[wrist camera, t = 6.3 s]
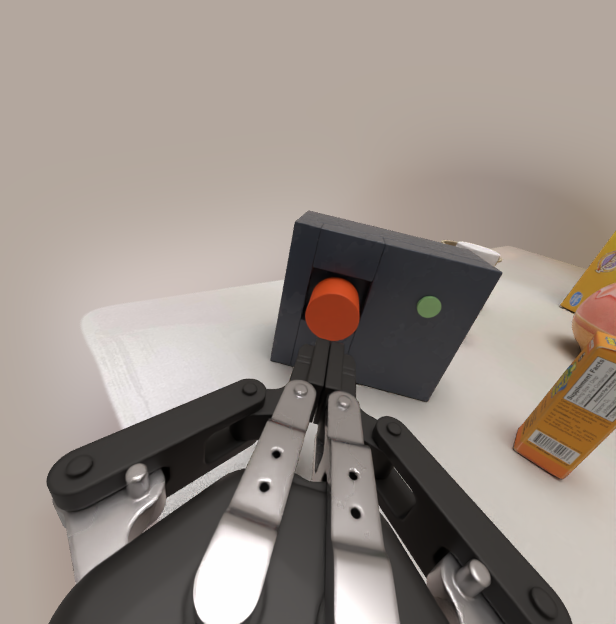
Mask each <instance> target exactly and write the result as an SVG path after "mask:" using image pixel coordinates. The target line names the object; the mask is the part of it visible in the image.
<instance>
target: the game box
mask: <svg viewBox="0 0 616 624" xmlns="http://www.w3.org/2000/svg"><path fill="white" fill-rule="evenodd" d="M613 283H616V231H615V232H614V234H613V235H612V237H611V238H610V239H609V240H608V242H607V243H606V244H605V246H604V247H603V249H602V250H601V252H600V253H599V254H598V255H597V257H596V258H595V259H594V261H593V262H592V263H591V265H590V266H589V268H588V269H587V270H586V271H585V273H584V274H583V275H582V277H581V278H580V279H579V281H578V282H577V283H576V285H575V286H574V287H573V289H572V290H571V291H570V293H569V294H568V295H567V297H566V298H565V299H564V301H563V302H562V303H561V305H560V306H562V307H564V308H566V309H568V310H571V311H573V312H576V310H577V309H578V307H579V306H580V305H581V304H582V302H583V301H585V300H586V299H587V298H588V297H589V296H590V295H592V294H593V293H595V292H596V291H598V290H600V289H602V288H604V287H606V286H608V285H611V284H613Z"/></svg>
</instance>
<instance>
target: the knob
mask: <svg viewBox="0 0 616 624" xmlns="http://www.w3.org/2000/svg"><path fill="white" fill-rule="evenodd" d="M305 318H306V323H307V325H308V327H309V329H310V330H311V331H312V332H313V333H314V334H315V335H316V336H318V337H319V338H323V339H326V340H330V341H338V340H342V339H345V338H347V337H349V336H350V335H351V334H353V333H354V331H355V330H356V329H357V327H358V324H359V319H360V318H359V296H358V292H357V290H356V288H355V287H354V286H353V284H351V283H350V282H349V281H347V280H345V279H343V278H338V277H331V278H327V279H324V280H322V281H321V282H319V283H318V284H317V285H316V286H315V288H314V290H313V292H312V295H311V298H310V300H309V303H308V306H307V309H306V313H305Z"/></svg>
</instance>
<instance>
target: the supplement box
mask: <svg viewBox="0 0 616 624" xmlns="http://www.w3.org/2000/svg"><path fill="white" fill-rule="evenodd" d="M614 429H616V337H615V336H612V335H609V334H605V333H602V332H599V331H597V332H596V333H595V335H594V336H593V337H592V339H591V340H590V341H589V343H588V344H587V345H586V346H585V348H584V349H583V350H582V351H581V353H580V354H579V355H578V356H577V357H576V359H575V360H574V361H573V362H572V364H571V365H570V366H569V367H568V368H567V370H566V371H565V372H564V373H563V375H562V376H561V377H560V378H559V380H558V381H557V382H556V383H555V385H554V386H553V387H552V388H551V390H550V391H549V392H548V393H547V395H546V396H545V397H544V398H543V400H542V401H541V402H540V403H539V405H538V406H537V407H536V408H535V410H534V411H533V412H532V413H531V414H530V416H529V417H528V418H527V419H526V421H525V422H524V423H523V424H522V425H521V426H520V427H519V428H518V432H517V436H516V440H515V445H514V450H515V451H516V452H518V453H519V454H521V455H522V456H524V457H525V458H527V459H529V460H530V461H532V462H533V463H535V464H536V465H538V466H540V467H541V468H543V469H544V470H546V471H548V472H549V473H551V474H553V475H554V476H556V477H558V478H560V479H564V478H565V477H566V476H568V475H569V474H570V473H571V472H572V471H573V470H574V469H575V468H576V467H577V466H578V465H579V464H580V463H581V462H582V461H583V460H584V459H585V458H586V457H587V456H588V455H589V454H590V453H591V452H592V451H593V450H594V449H595V448H596V447H597V446H598V445H599V444H600V443H601V442H602V441H603V440H604V439H605V438H606V437H607V436H608V435H609V434H610V433H611V432H612V431H613V430H614Z"/></svg>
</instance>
